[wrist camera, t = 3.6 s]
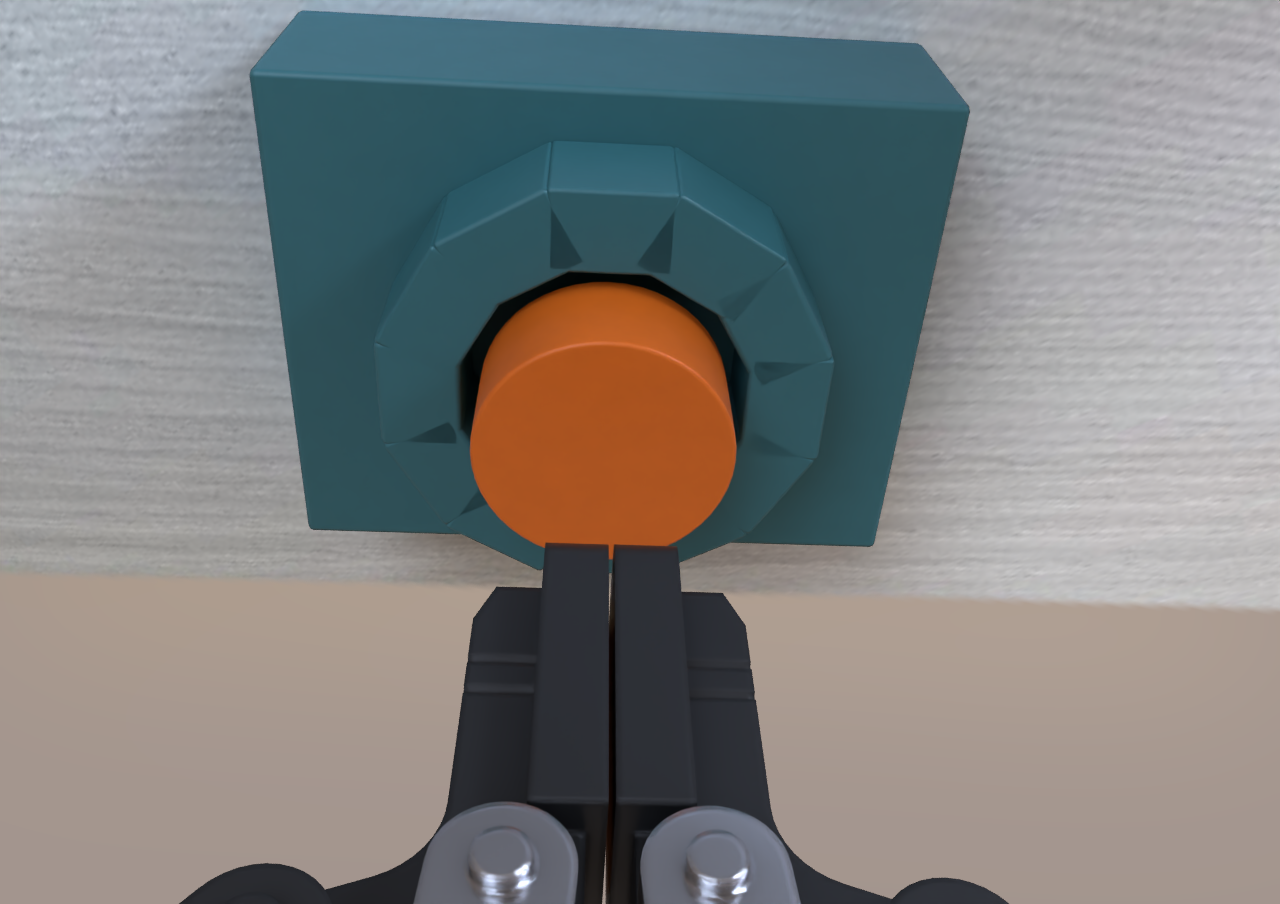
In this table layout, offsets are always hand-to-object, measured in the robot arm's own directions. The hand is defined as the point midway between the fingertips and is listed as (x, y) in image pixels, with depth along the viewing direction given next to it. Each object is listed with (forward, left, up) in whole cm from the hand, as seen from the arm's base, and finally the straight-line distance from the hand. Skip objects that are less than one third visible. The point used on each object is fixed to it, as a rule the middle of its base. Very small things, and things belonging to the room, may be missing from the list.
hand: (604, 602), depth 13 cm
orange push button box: (0, 0, -9) cm, 9 cm away
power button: (0, 0, -5) cm, 5 cm away
